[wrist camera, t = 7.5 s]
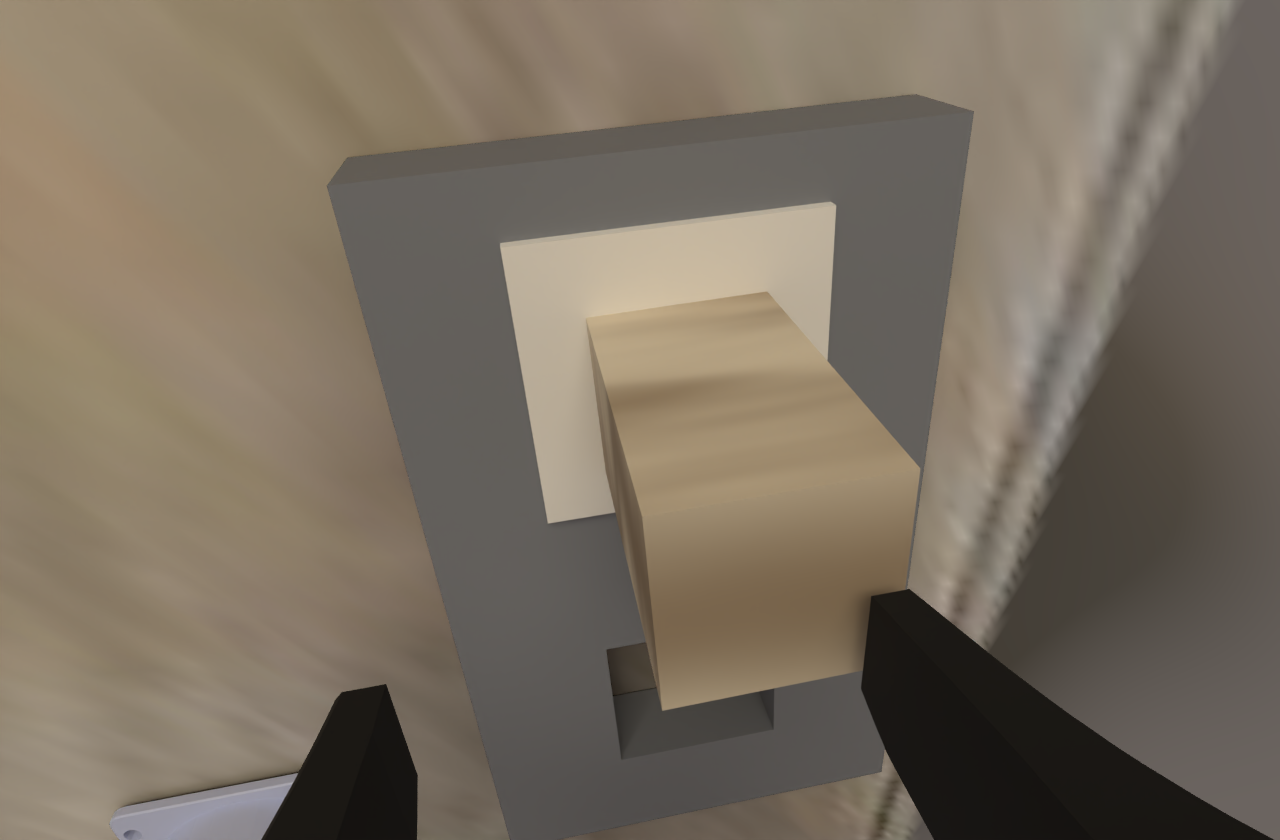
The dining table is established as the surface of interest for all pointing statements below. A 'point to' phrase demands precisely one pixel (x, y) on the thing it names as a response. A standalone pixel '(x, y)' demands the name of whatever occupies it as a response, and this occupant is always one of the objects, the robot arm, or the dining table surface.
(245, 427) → the dining table surface
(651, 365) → the peg
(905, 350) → the pocket plate
